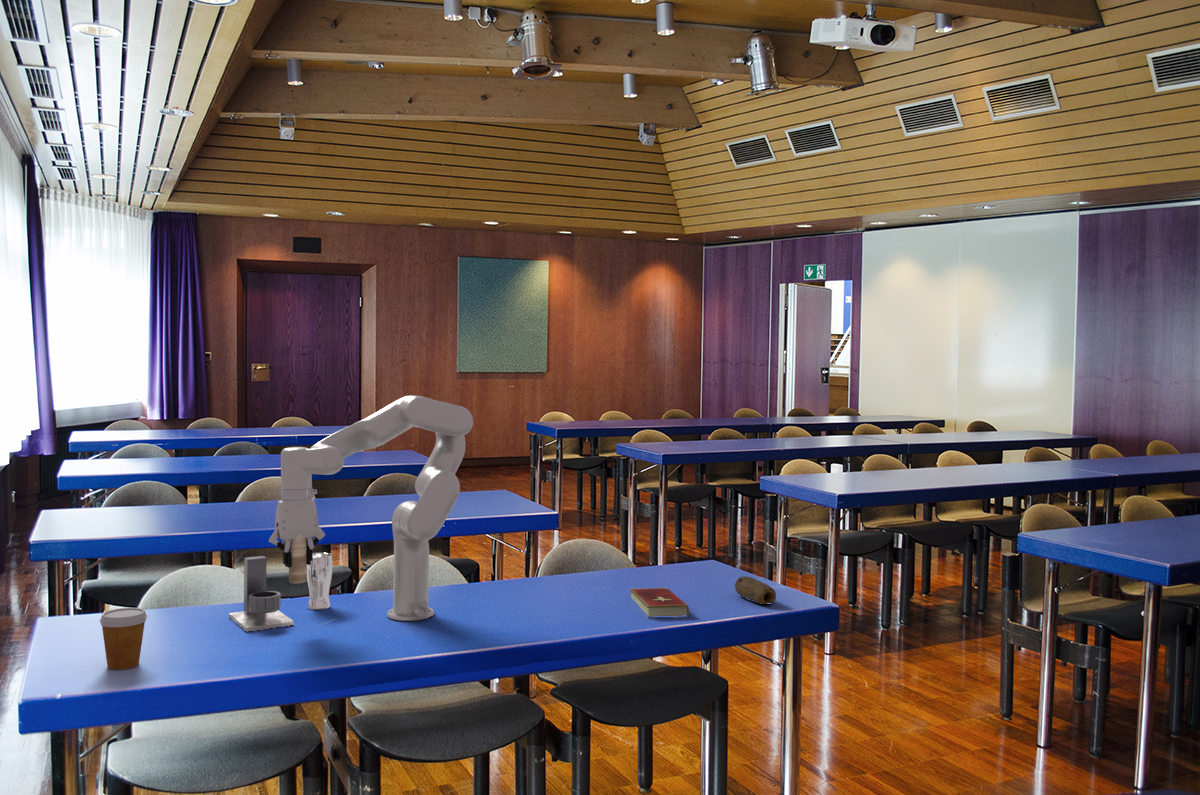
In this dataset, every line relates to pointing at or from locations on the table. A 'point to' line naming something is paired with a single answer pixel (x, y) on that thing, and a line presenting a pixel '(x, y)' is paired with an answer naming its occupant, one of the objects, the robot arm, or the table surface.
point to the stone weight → (755, 590)
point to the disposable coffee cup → (123, 636)
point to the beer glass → (319, 580)
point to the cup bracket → (259, 600)
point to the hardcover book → (659, 602)
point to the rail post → (298, 560)
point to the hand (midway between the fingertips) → (297, 564)
